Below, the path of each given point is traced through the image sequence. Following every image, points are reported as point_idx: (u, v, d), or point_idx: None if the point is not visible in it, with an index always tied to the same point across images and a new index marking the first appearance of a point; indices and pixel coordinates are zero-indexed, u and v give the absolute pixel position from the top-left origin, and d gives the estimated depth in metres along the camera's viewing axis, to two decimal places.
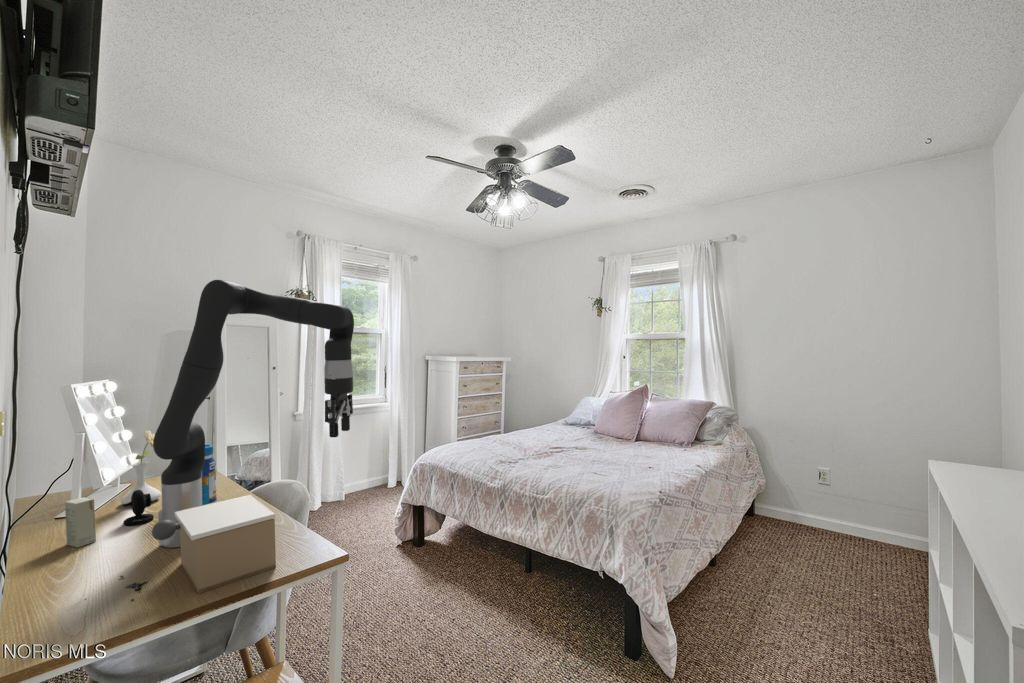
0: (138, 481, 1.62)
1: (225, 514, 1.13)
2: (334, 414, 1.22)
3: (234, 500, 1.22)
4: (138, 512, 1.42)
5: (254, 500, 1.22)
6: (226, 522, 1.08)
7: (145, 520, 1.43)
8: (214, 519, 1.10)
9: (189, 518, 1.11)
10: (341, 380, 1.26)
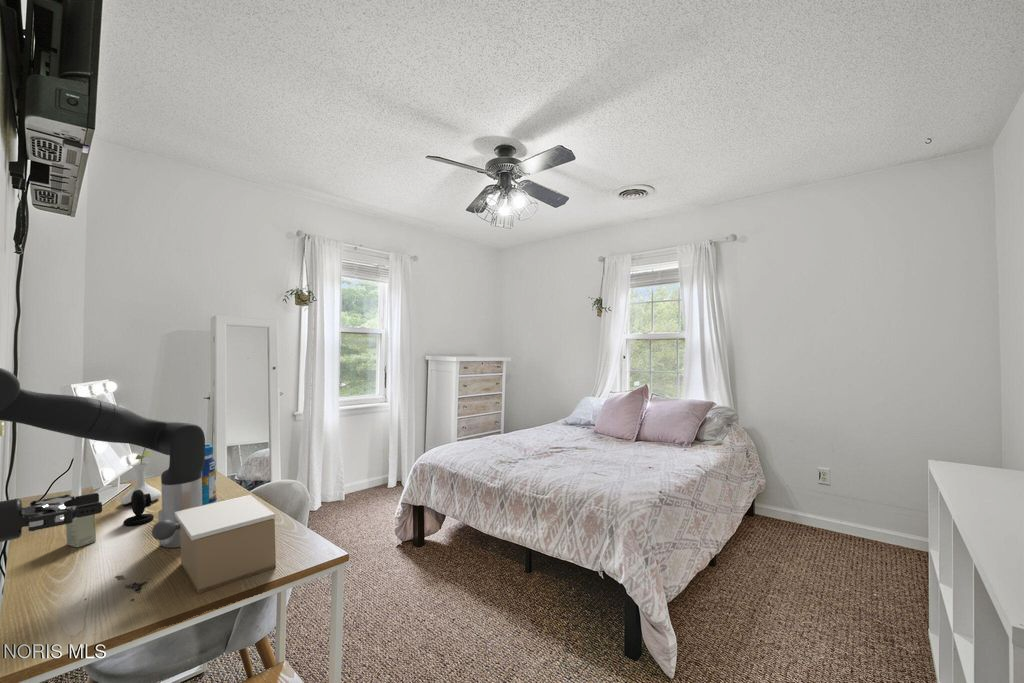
0: (138, 481, 1.62)
1: (225, 514, 1.13)
2: None
3: (234, 500, 1.22)
4: (138, 512, 1.42)
5: (254, 500, 1.22)
6: (226, 522, 1.08)
7: (145, 520, 1.43)
8: (214, 519, 1.10)
9: (189, 518, 1.11)
10: None
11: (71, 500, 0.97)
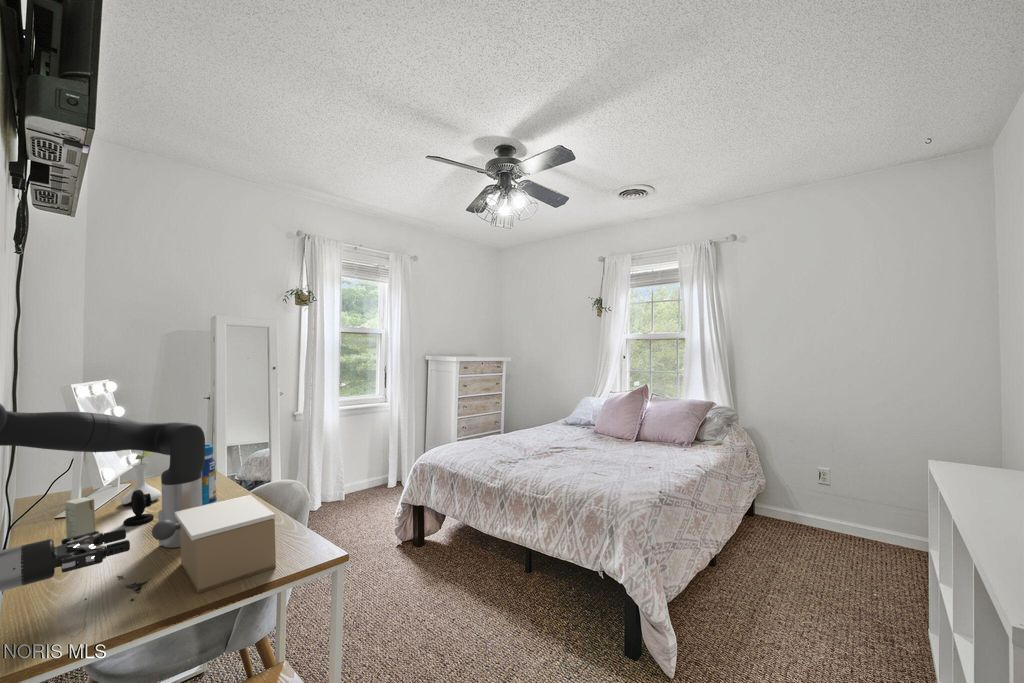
0: (138, 481, 1.62)
1: (225, 514, 1.13)
2: None
3: (234, 500, 1.22)
4: (138, 512, 1.42)
5: (254, 500, 1.22)
6: (226, 522, 1.08)
7: (145, 520, 1.43)
8: (214, 519, 1.10)
9: (189, 518, 1.11)
10: None
11: (99, 537, 1.01)
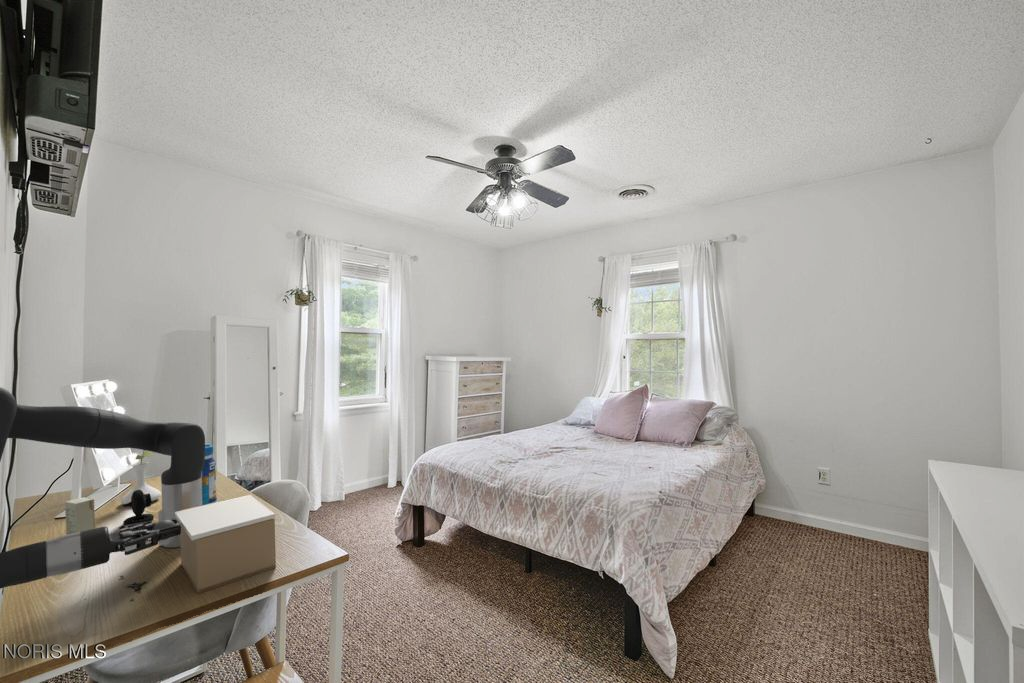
0: (138, 481, 1.62)
1: (225, 514, 1.13)
2: None
3: (234, 500, 1.22)
4: (138, 512, 1.42)
5: (254, 500, 1.22)
6: (226, 522, 1.08)
7: (145, 520, 1.43)
8: (214, 519, 1.10)
9: (189, 518, 1.11)
10: None
11: None
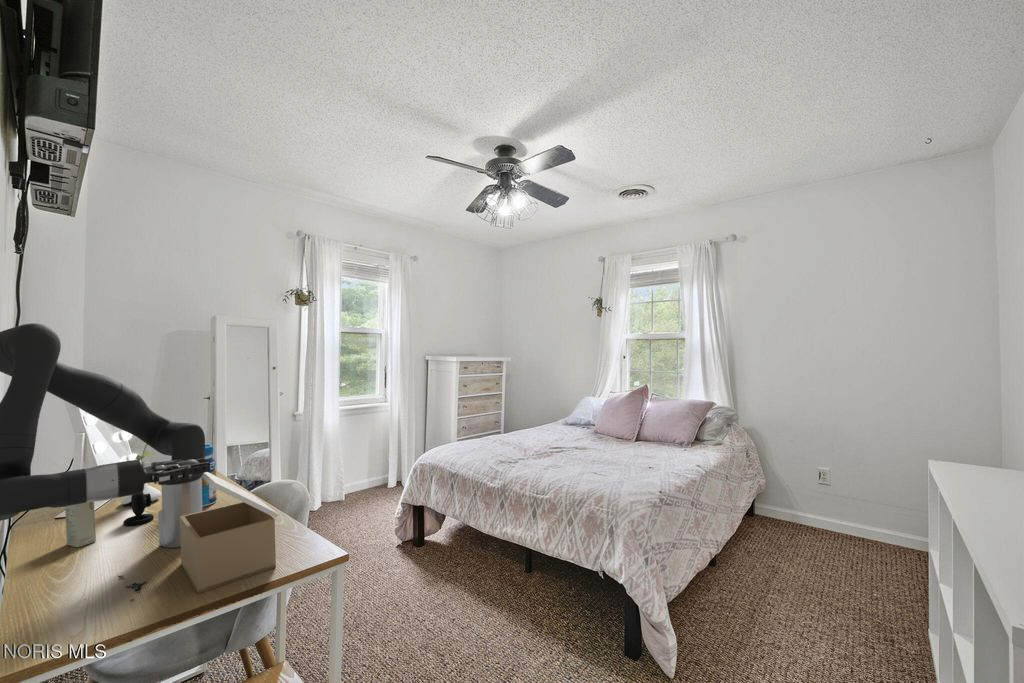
0: None
1: (238, 490, 1.15)
2: None
3: (241, 489, 1.24)
4: (138, 512, 1.42)
5: (258, 499, 1.23)
6: (240, 494, 1.10)
7: (145, 520, 1.43)
8: (230, 487, 1.12)
9: (209, 475, 1.14)
10: None
11: None
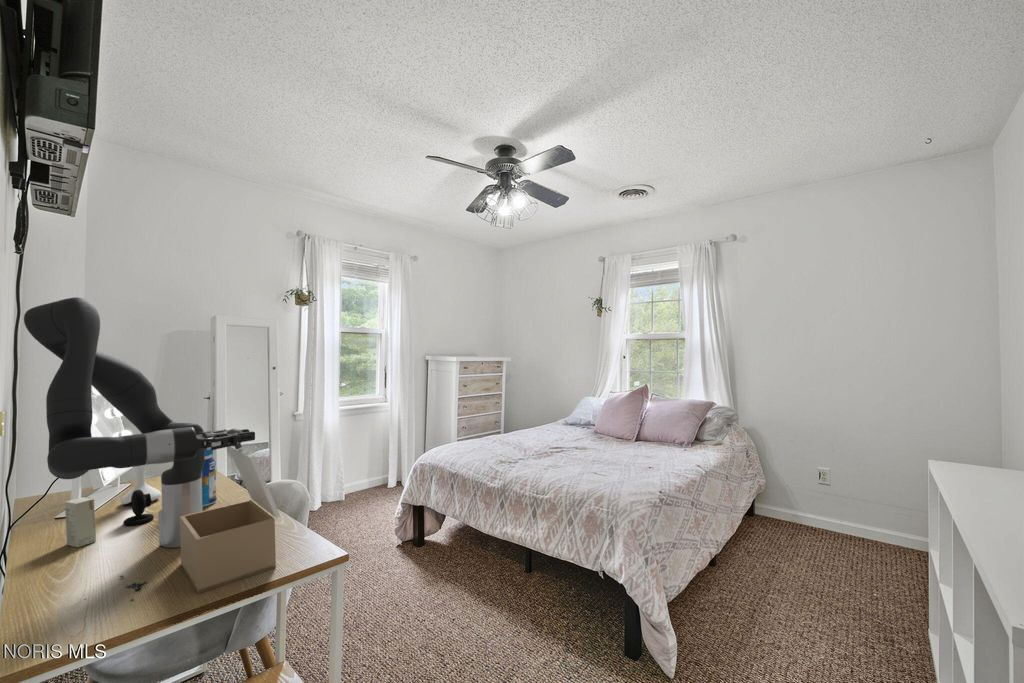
0: (138, 481, 1.62)
1: None
2: None
3: None
4: (138, 512, 1.42)
5: None
6: None
7: (145, 520, 1.43)
8: None
9: None
10: None
11: None
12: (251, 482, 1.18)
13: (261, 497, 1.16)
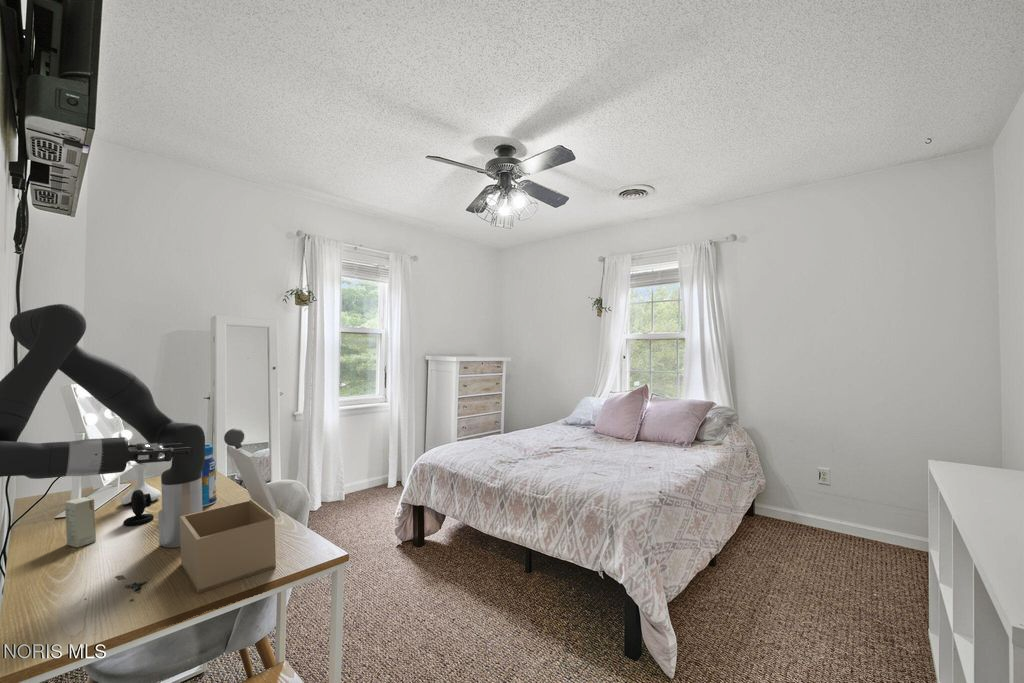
0: (138, 481, 1.62)
1: None
2: None
3: None
4: (138, 512, 1.42)
5: None
6: None
7: (145, 520, 1.43)
8: None
9: None
10: None
11: None
12: (251, 482, 1.18)
13: (261, 497, 1.16)
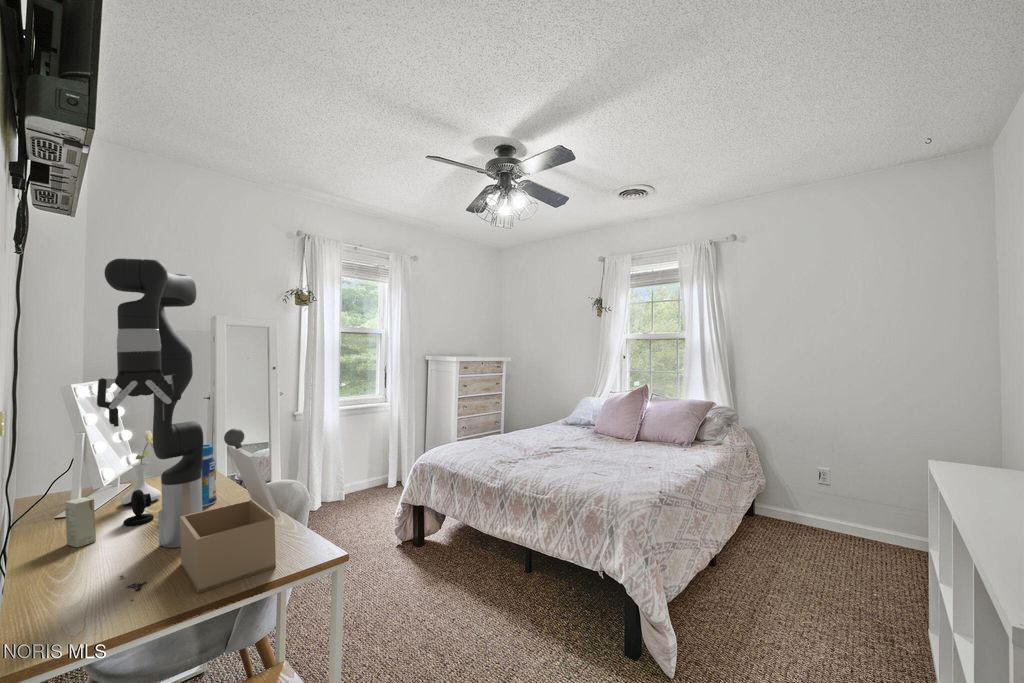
0: (138, 481, 1.62)
1: None
2: (101, 397, 0.96)
3: None
4: (138, 512, 1.42)
5: None
6: None
7: (145, 520, 1.43)
8: None
9: None
10: (121, 354, 0.97)
11: None
12: (251, 482, 1.18)
13: (261, 497, 1.16)
